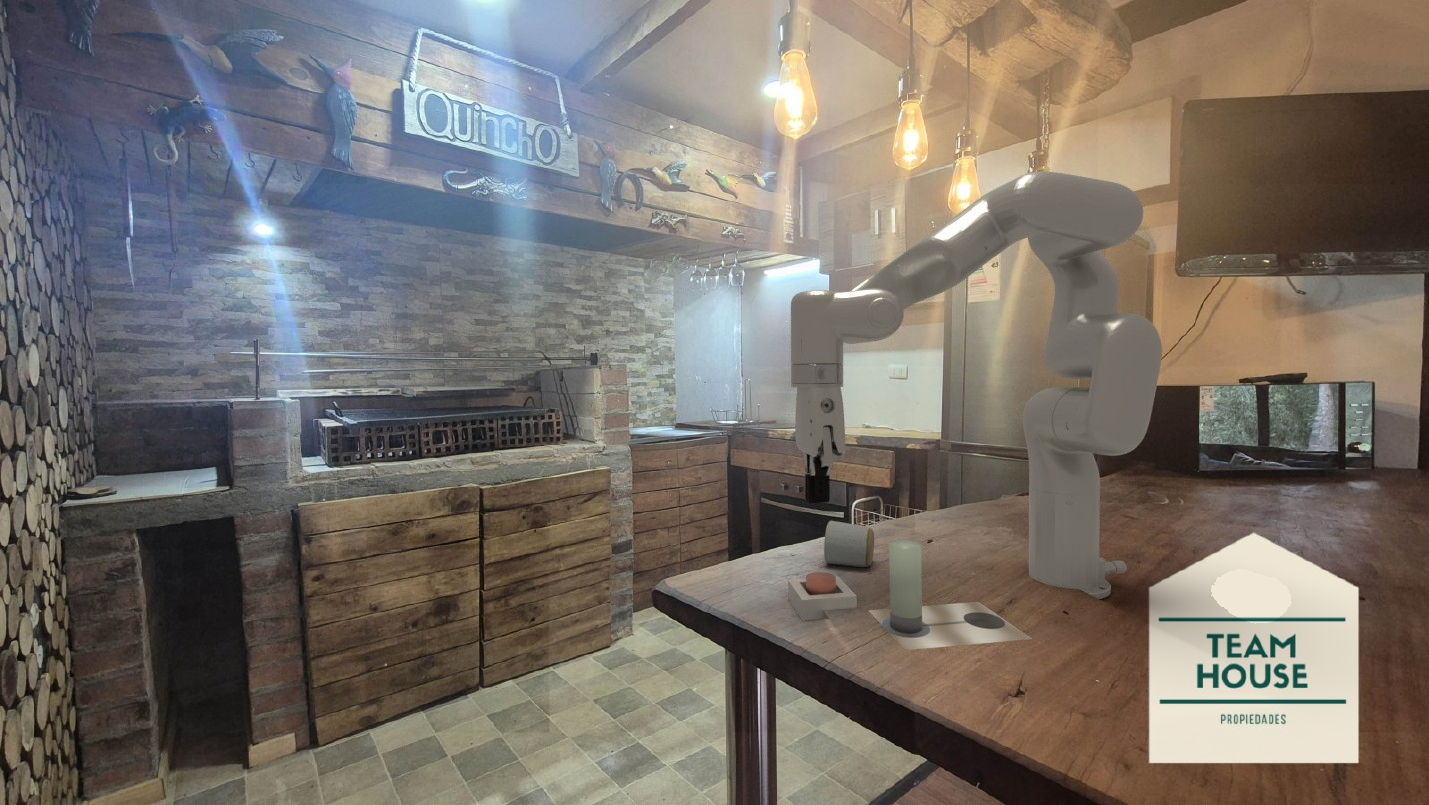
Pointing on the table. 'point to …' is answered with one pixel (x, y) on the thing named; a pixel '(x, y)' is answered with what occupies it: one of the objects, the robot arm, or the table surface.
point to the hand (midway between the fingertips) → (817, 501)
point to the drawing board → (953, 626)
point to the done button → (820, 583)
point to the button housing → (819, 599)
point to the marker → (905, 586)
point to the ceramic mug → (848, 544)
